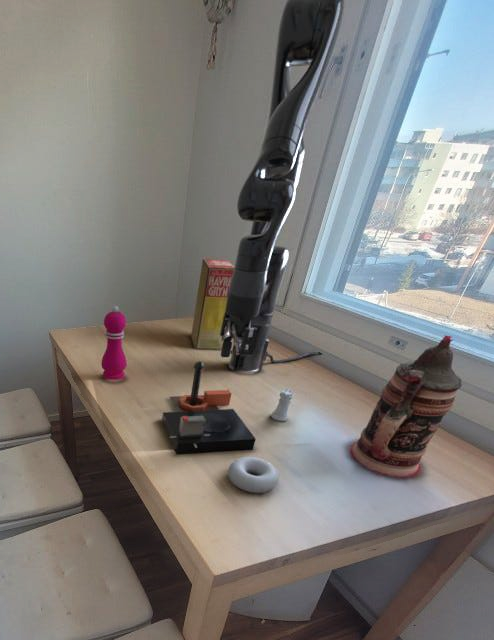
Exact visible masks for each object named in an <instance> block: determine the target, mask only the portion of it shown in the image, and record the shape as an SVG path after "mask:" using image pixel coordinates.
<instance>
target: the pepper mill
mask: <svg viewBox="0 0 494 640" xmlns="http://www.w3.org/2000/svg"><path fill="white" fill-rule="evenodd" d="M119 309H120V308H119V307H118V306H117V305H113V306H112V307H111V311H110V312H108V313H107V314H106V315H105V316H104V319H103V326H104V328H105V329H106V330H105V338H106V339H107V342H106V349H105V351H104V353H103V356H102V358H101V364H100V365H101V368H102V370H103V372H102V377H103V378H105V379H107V380H112V381H118V380H122V379H123V378H125V372H124V371H125V370H126V368H127V365H128V363H127V357H126V355H125V352H124V350H123V345H122V344H123V342H122V341H123V338H124V336H125V335H124V334H125V331H124V329H126V326H127V318H126V316H125V315H124V314H123V313H122V312H120V311H119Z"/></svg>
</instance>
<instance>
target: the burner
mask: <svg viewBox="0 0 494 640" xmlns="http://www.w3.org/2000/svg"><path fill="white" fill-rule="evenodd" d="M194 416H203V417H204V418H205V425H204V431H205V432H212V433H217V432H223V431H225V430H227V429H228V428H229V426H230V424H229V421H228V420H227V419H226V418H224V417H222V416H220V415H217V414H212V413H200V414H197V415H194Z"/></svg>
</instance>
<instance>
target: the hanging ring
mask: <svg viewBox="0 0 494 640" xmlns="http://www.w3.org/2000/svg"><path fill="white" fill-rule="evenodd" d="M203 392H204V393H203V395H204V397H200V396H198V398H197V401H199V402H201V403H202V404H201V405H198V406H192V405H189V404H186V403H185V402H184V401H186V400H190V397H191V394H184V395H182V396H183V397H181V398H180V399H179V404H180V406H181V407H182V408H184V409H187V410H190V411H202V410H204V409H205V408H206V407H207V406H212V405H216V406H229V405H230V402H231V399H232V392H231V391H230V389H216V390H215V389H214V390H204V391H203Z"/></svg>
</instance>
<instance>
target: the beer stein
mask: <svg viewBox="0 0 494 640" xmlns="http://www.w3.org/2000/svg"><path fill="white" fill-rule="evenodd" d="M451 338H452V335H444V336H442V339H441V340H439V341H440V342H439V343H438V344H437V345H435V346H429V347H428V348H426V349H425V350H423V352H422V353H421V354H420V355H419V356H418V357H417V359H415V360H414V361H412V360H411V361H409V362H404V363H400V364H399V365H397V366H396V369H395V371H394V373H393V375H392V376H391V377H390V379H389V381H388V382H387V383H386V384H385V385H384V386H383V387H382V389H381V396H380V398H379V400H377V402H376V406H375V407H374V409H373V411H372V413H371V416H370V419H369V420H368V423H367V424H366V427H365V428H363V429H362V430H361V433H360V437H359V438H358V440H357V441H355V442H353V443H352V444H350V446H349V454H350V457H351V459H353V460H354V461H355V462H356V463H358V464H359V465H361V466H362V467H364V468H365V469H369V470H371V472H374V473H377V474H380V475H384V476H388V477H391V478H398V479H402V480H404V478H413V477H415V476H417V475H419V473H421V464H420V463H421V459H422V457H423V456H424V455H425V454H426V453H427V449H428V444H429V443H430V442H431V439H432V438H433V437H434V436H435V434H436V433H437V431H438V429H439V427H441V425H442V420H443V418H444V416H446V414H447V413H448V412H450V411H451V410H452V409H453V406H454V401H455V399H456V396H457V393H458V390H459V389H461V387H462V385H463V383H462V378H461V377H460V376H458V375H457V374H456V372H455V371H454V369H453V368H452V366H453V365H452V363H453V359H454V352H453V350H452V349H451V346H450V345H451V342H453V341H454V339H453V338H452V339H451Z"/></svg>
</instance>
